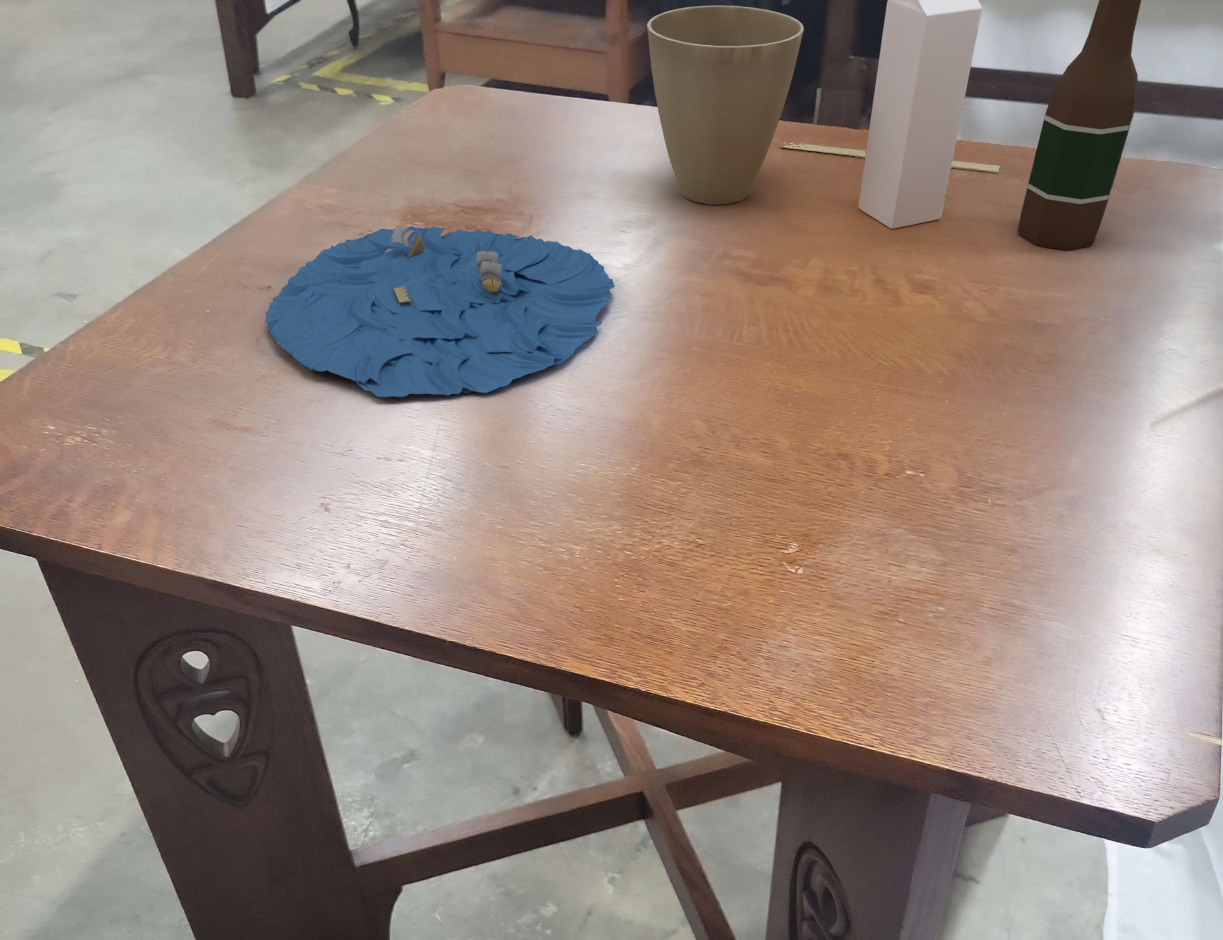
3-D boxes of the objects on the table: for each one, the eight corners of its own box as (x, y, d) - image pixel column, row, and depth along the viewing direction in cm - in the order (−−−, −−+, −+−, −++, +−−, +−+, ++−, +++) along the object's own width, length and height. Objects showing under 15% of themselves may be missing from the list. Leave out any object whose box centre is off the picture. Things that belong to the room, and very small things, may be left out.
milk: (941, 220, 106) (993, -34, 92) (890, 230, 105) (934, -27, 90) (905, 198, 111) (949, -48, 96) (855, 208, 109) (892, -41, 94)
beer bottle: (998, 234, 104) (1066, -53, 88) (1043, 212, 107) (1115, -67, 91) (1071, 258, 99) (1156, -39, 83) (1114, 235, 103) (1203, -53, 87)
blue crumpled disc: (686, 347, 90) (690, 289, 86) (349, 450, 78) (338, 388, 75) (521, 217, 108) (519, 165, 104) (227, 285, 96) (213, 229, 93)
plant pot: (684, 230, 105) (690, 53, 95) (622, 179, 115) (622, 15, 105) (814, 204, 110) (834, 33, 99) (744, 158, 120) (755, -2, 109)
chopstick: (999, 167, 117) (1000, 165, 117) (997, 173, 115) (998, 171, 115) (784, 143, 123) (785, 141, 123) (781, 148, 122) (781, 146, 122)
